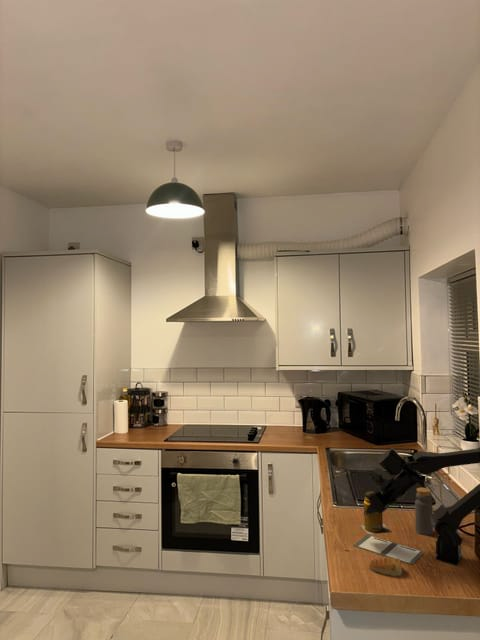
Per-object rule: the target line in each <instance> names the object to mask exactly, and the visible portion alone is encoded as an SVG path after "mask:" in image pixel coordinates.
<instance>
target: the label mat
mask: <svg viewBox="0 0 480 640" xmlns="http://www.w3.org/2000/svg"><path fill="white" fill-rule="evenodd" d="M352 546H353V547H354V548H355V547H356V548H358V549H362V550H364V551H367V552H371V553H375V554H377V555H381V556H383V557H389V558H390V557H391V558H395V559H396V558H399V559H400V562H403V563H405V564H408V565H411V566H413V565H415V563H416V562H417V561H418V560H419V559H420V557H422V556H423V555H424V553H425V551H424V550H420V549H417V548H413V547H411V546H406V545H403V544H400V543H396V542H394V541H391V540H387V539H384V538H382V537H378V536H374V535H372V534H368V533H367V534H366V535H365V536H363V537H362V538H361V539H359V540H358V541H357V542H355V543H354V544H353V545H352Z"/></svg>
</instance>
